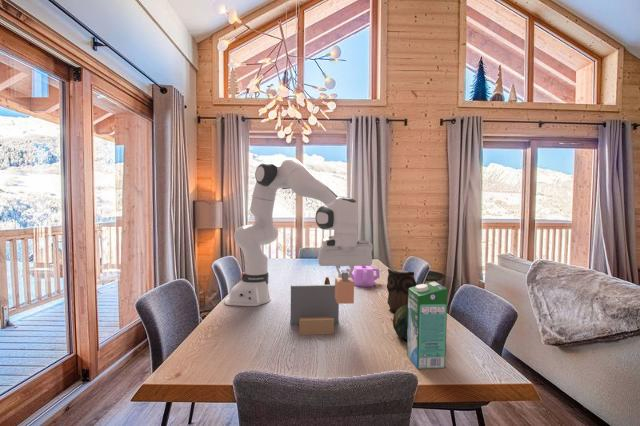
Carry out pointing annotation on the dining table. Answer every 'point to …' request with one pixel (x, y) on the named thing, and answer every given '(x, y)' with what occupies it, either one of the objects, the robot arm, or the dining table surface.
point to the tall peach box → (344, 289)
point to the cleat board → (314, 308)
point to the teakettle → (364, 276)
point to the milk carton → (427, 325)
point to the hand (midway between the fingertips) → (344, 277)
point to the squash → (401, 322)
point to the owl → (399, 288)
